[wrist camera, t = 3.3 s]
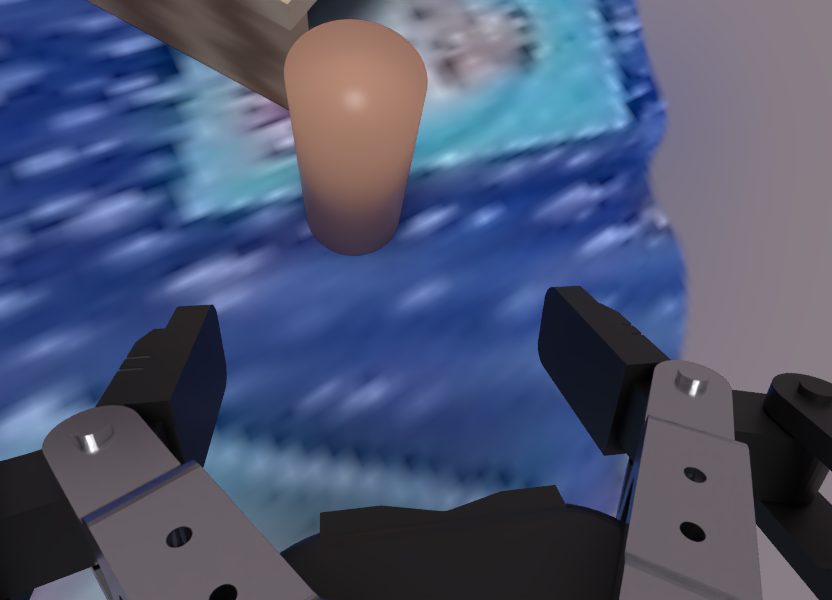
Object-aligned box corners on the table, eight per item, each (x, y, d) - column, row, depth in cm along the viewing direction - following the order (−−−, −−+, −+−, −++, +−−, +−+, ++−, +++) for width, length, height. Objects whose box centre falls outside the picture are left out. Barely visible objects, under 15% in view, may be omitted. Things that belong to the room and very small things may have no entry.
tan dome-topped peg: (287, 226, 29) (254, 89, 18) (337, 157, 30) (332, -2, 20) (370, 271, 28) (384, 160, 18) (415, 200, 30) (451, 61, 20)
